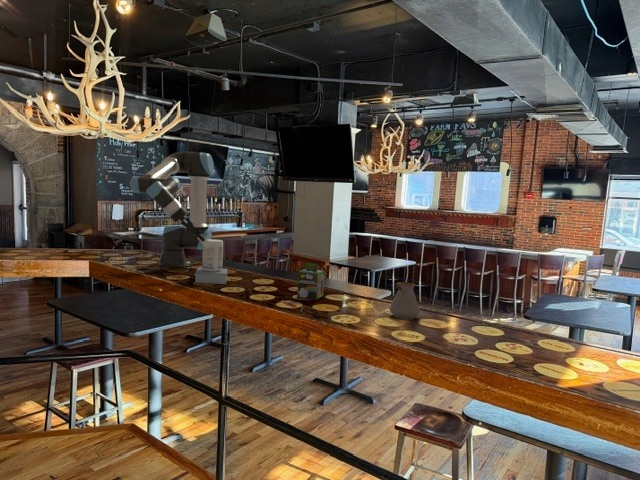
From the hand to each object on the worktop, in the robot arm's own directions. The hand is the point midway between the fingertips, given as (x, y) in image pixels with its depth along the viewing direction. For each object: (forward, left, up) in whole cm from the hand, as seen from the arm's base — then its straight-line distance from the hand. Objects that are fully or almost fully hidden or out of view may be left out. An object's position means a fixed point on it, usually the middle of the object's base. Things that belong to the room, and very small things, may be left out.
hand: (207, 244), depth 209 cm
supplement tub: (-1, +3, -13) cm, 13 cm away
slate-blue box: (-1, +3, -18) cm, 18 cm away
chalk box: (+29, +46, -18) cm, 58 cm away
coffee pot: (+64, +74, -18) cm, 100 cm away
